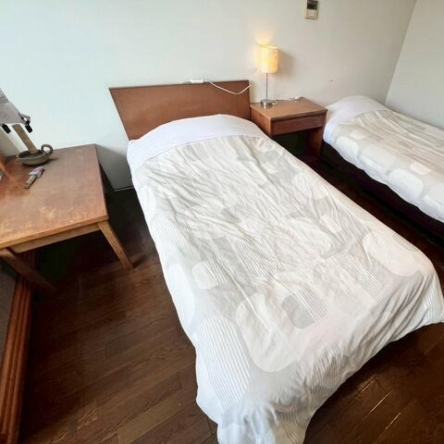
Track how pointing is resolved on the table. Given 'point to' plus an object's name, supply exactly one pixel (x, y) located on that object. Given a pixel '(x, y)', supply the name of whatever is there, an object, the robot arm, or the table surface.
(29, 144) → the stick
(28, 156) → the bowl
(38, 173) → the paintbrush
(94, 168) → the table surface
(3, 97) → the robot arm
